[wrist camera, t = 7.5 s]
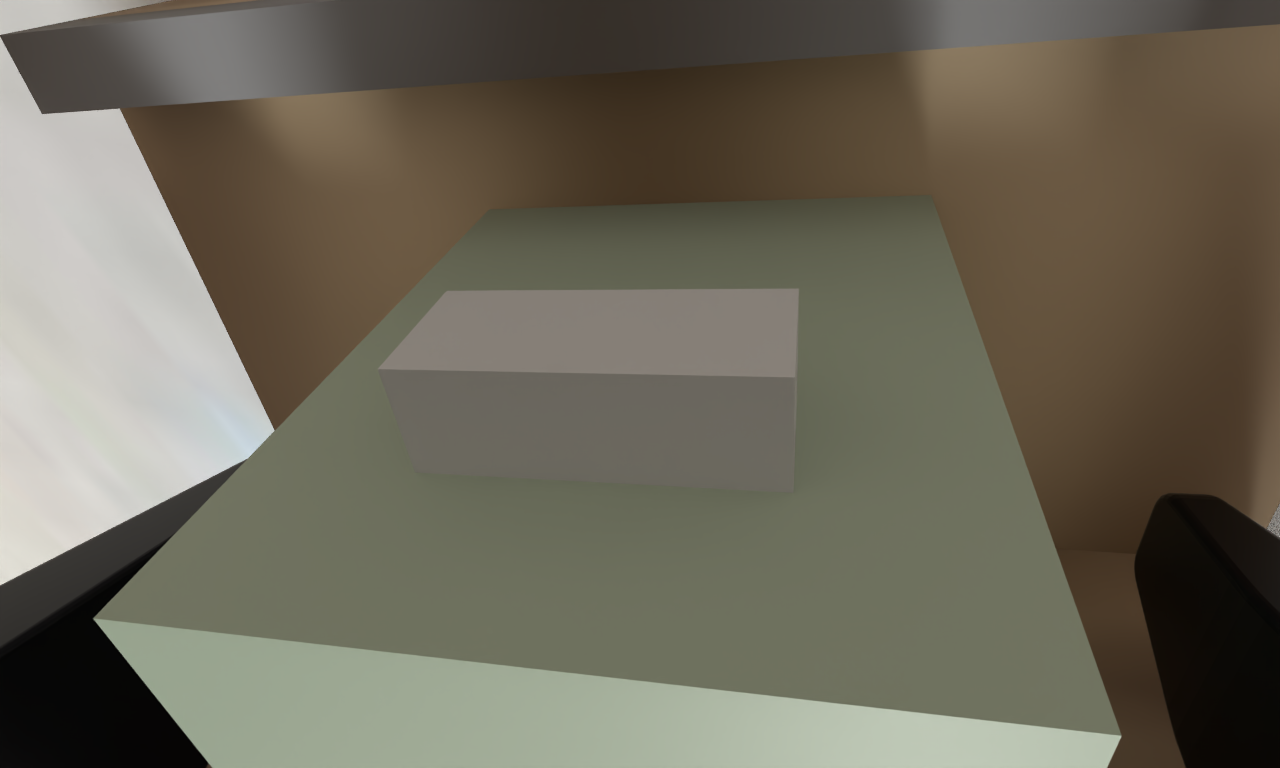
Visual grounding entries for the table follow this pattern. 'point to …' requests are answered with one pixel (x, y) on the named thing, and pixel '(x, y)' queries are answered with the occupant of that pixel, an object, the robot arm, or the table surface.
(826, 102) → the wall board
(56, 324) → the table surface
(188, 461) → the table surface
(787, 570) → the cabinet block
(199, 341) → the table surface
